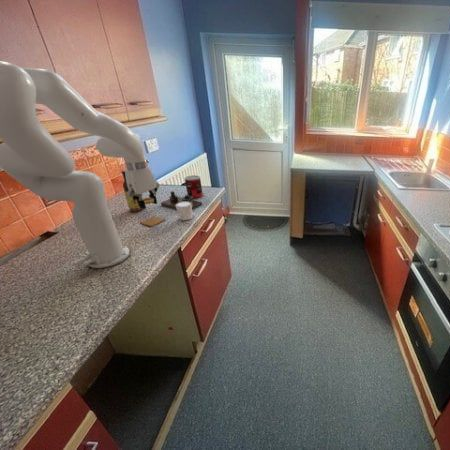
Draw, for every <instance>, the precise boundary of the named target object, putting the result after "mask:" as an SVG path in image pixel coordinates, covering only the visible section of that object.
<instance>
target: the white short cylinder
mask: <svg viewBox="0 0 450 450" xmlns="http://www.w3.org/2000/svg"><path fill="white" fill-rule="evenodd" d="M175 206H176V209H175V210H176V212H177V214H178V217H179V220H181V221H188V220H191V219H192V218H193V210H192V205H191V202H186V201H185V202H179V203H177V204H176V205H175Z"/></svg>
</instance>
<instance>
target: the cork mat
mask: <svg viewBox="0 0 450 450" xmlns="http://www.w3.org/2000/svg"><path fill="white" fill-rule="evenodd" d="M163 222H165V219H164V218H161V217H157V216H152V217H149V218H147V219H145V220H143V221H140V224H142V225H144V226H147V227H154V226H156V225H158V224H160V223H163Z"/></svg>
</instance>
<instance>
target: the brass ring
mask: <svg viewBox="0 0 450 450" xmlns="http://www.w3.org/2000/svg"><path fill="white" fill-rule="evenodd" d="M142 200H144V203H145V205H150V204H154V203H153V202H154V198H151V197H149V196H148V197H144V198H143V197H142Z"/></svg>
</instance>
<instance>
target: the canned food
mask: <svg viewBox="0 0 450 450" xmlns="http://www.w3.org/2000/svg"><path fill="white" fill-rule="evenodd" d="M184 184H185V188H186V193H187V195H189V196H192V197H193V199H199V198H201V197H203V193H204V192H203V186H202V181H201V176H199V175H196V174H195V175H188V176H185V177H184Z"/></svg>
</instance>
